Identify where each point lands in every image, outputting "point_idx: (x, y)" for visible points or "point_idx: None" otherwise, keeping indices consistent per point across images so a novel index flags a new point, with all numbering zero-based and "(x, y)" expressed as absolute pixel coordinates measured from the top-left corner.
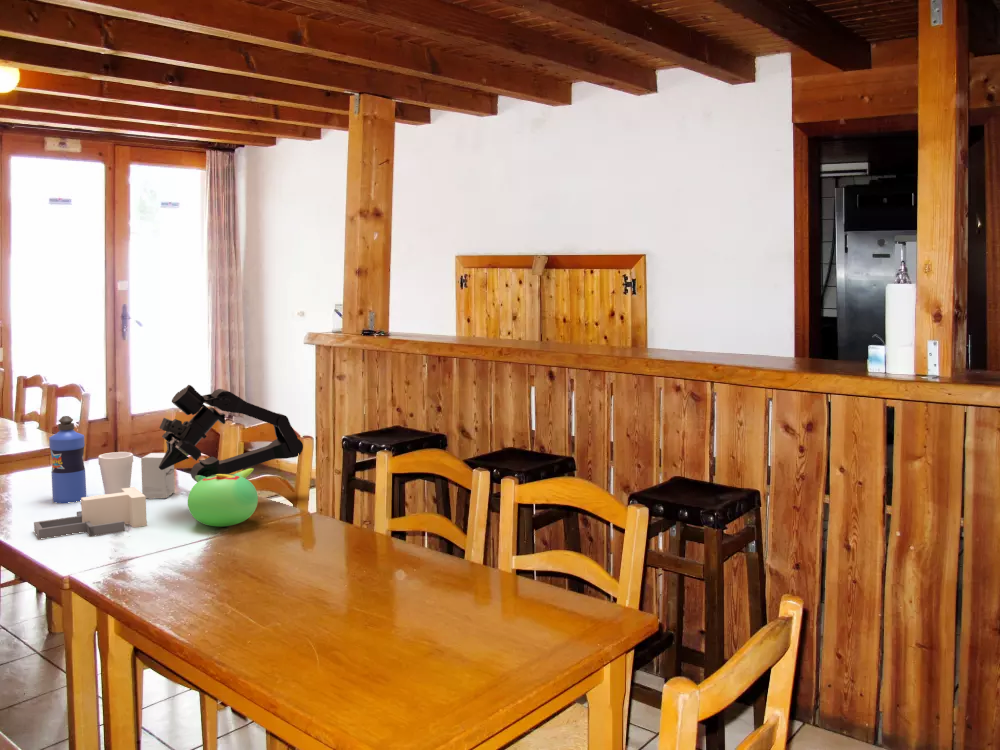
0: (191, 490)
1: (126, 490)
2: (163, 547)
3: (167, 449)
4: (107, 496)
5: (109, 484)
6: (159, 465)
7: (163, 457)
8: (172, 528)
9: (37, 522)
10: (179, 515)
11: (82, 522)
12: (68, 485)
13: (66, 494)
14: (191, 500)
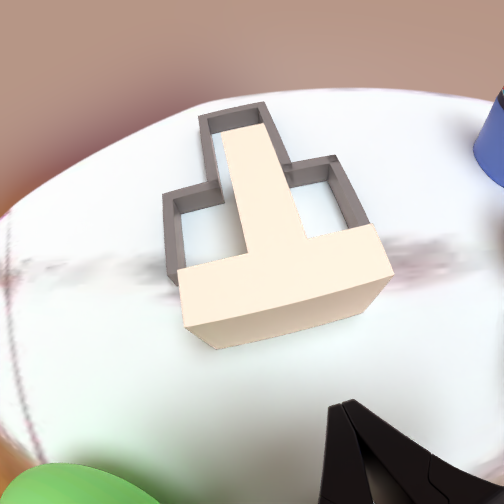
0: (48, 489)
1: (333, 244)
2: (25, 358)
3: (493, 495)
4: (248, 184)
5: None
6: (359, 407)
7: (421, 447)
8: (148, 418)
9: (259, 105)
10: (303, 456)
11: (215, 174)
12: (492, 132)
13: (483, 144)
14: (38, 467)
